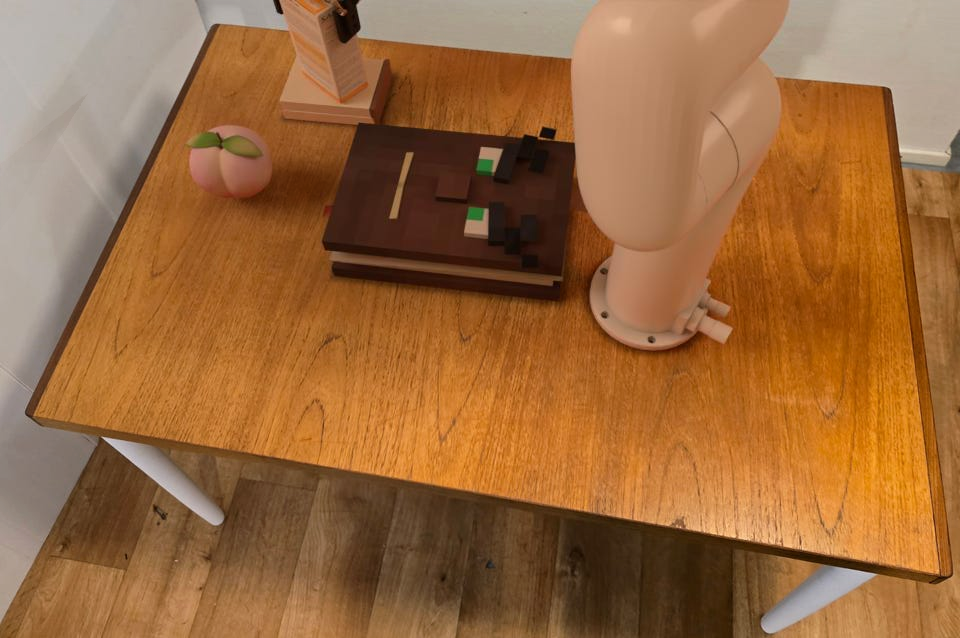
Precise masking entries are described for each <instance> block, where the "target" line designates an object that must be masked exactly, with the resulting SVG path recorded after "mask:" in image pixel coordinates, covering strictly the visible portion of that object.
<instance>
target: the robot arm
mask: <svg viewBox="0 0 960 638" xmlns="http://www.w3.org/2000/svg"><path fill="white" fill-rule="evenodd" d="M272 1H273V5H274V7H275V11H276V14H278V15H280V16H281V15H284V13H283V10H282V7H281V4H280V1H279V0H272ZM329 1H330V3H331V4H332V5H333V7H334V8H335V10H336V12H335V13H334V20H335V24H336V28H337V32H338V36H339V40H340V42H341V43H344V44H346V43H347V42H348V41H349V40H350V39H351V38H352V37H353V36H355V35H356V34H357V35H358V33H359V32H360V31H361V29H362V26H361V21H360V16H359V10H358V6H357V5H358V4H359V3H360V2H362V0H343V1H341V0H329ZM790 3H791V0H598V1H597V2H596V4H594V6H592V7H593V8H591V10H590V11H589V13H588V14H587V15H586V17H585V19H584V20H583V22H582V24H581V26H580V27H579V31H578V33H577V36H576V39H575V43H574V46H573V49H572V54H571V55H572V56H571V61H570V89H571V103H572V104H571V105H572V121H573V136H574V143H575V152H576V158H575V167H576V176H577V182H578V187H579V188H580V192H581V196H582V199H583V202H584V204H585V207H586V209H587V211H588V213H587V214H588V215H589V216H590V219H591V220H592V221H593V223H594V224H595V226H596V227H597V228H598V229H599V230H600V231H601V233H602V234H604V236H605V237H606V238H608V239H609V240H611V242H613V243H614V245H613V249H612V254H611V255H610V256H608V257H607V258H605V260H603V262H601V264H600V265H598V267H597V269H596V271H595V272H594V274H593V276H592V279H591V282H590V286H589V304H590V309H591V312H592V314H593V317H594V318H595V320H596V322H597V323H598V325H599V326H600V327H601V328H602V330H603V331H605V332H606V333H607V334H608V335H609V336H610V337H611V338H613V339H614V340H616V341H618V342H619V343H621V344H624V345H626V346H628V347H631V348H634V349H637V350H638V349H639V350H642V351H653V352H655V351H664V350H665V351H666V350H668V349H673V348H676V347H678V346H681V345H682V344H684V343H686V342H688V341H689V340H690V339H691V338H693V337H694V336H695V335H696V333H697V332H700V333H702V334H704V335H706V336H707V337H708V338H710V339H712V340H714V341H716V342H718V343H719V344H721V345H725V344H726V342H727V340H728V339H729V336H730V335H731V333H732V331H733V329H734V327H732V326H730V325H728V324H726V323H725V322H722V321H720V320H718V319H717V320H716V319H714V318H712V317H710V316H709V315H707V314H708V311H709V312H712V313H713V314H714V315H716V316H718V317H720V318H723V319H726V317H727V316H728V314H729V312H730V310H731V308H732V306H730V305H729V304H726V303H724V302H722V301H719V300H716V299H715V298H712V297H711V296H712V294H710V293H709V291H708V289H709V287H710V284H711V282H712V280H711V279H709V278H707V276H708V274H709V272H710V270H711V267H712V265H713V262H714V260H715V258H716V256H717V254H718V251H719V249H720V246H721V244H722V242H723V240H724V237H725V235H726V234H727V231H728V230H729V227H730V226H731V223H732V221H733V219H734V217H735V214H736V212H737V210H738V207H739V205H740V204H741V201H742V199H744V198H743V197H744V196H745V194H746V192H747V190H748V188H749V186H750V185H751V183H752V182H753V179H754V177H755V176H756V174H757V173H758V170H759V169H760V168H761V165H762V163H763V162H764V160H765V158H766V156H767V155H768V153H769V152H770V149H771V148H772V145H773V143H774V141H775V138H776V136H777V133H778V130H779V127H780V122H781V117H782V107H783V105H782V95H781V90H780V87H779V84H778V81H777V79H776V77H775V75H774V73H773V71H772V70H771V68H770V67H769V65H767V64H766V62H765V61H764V60H762V59H761V58H760V55H762V53H763V52H764V51H765V50H766V49H767V47H768V46H769V45H770V44H771V42H772V41H773V40H774V39H775V37H776V36H777V34H778V33H779V31H780V29H781V27H782V26H783V23H784V21H785V19H786V16H787V14H788V11H789V7H790Z"/></svg>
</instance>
